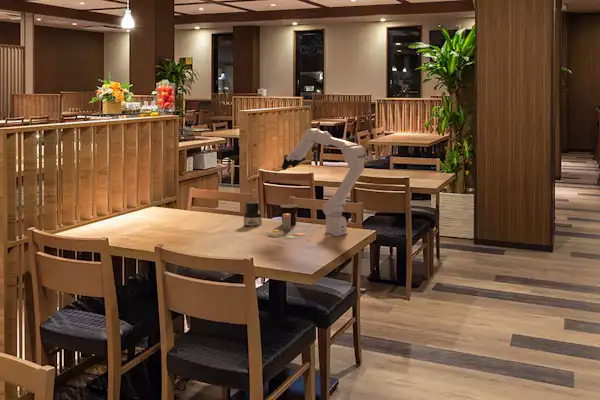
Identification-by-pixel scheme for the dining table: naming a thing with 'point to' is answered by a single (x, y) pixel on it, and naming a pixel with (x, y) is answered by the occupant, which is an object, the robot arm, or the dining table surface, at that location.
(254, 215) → the ink bottle
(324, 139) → the robot arm
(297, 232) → the board
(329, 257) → the dining table surface
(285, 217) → the marker
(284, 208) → the coffee mug
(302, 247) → the dining table surface
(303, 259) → the dining table surface
